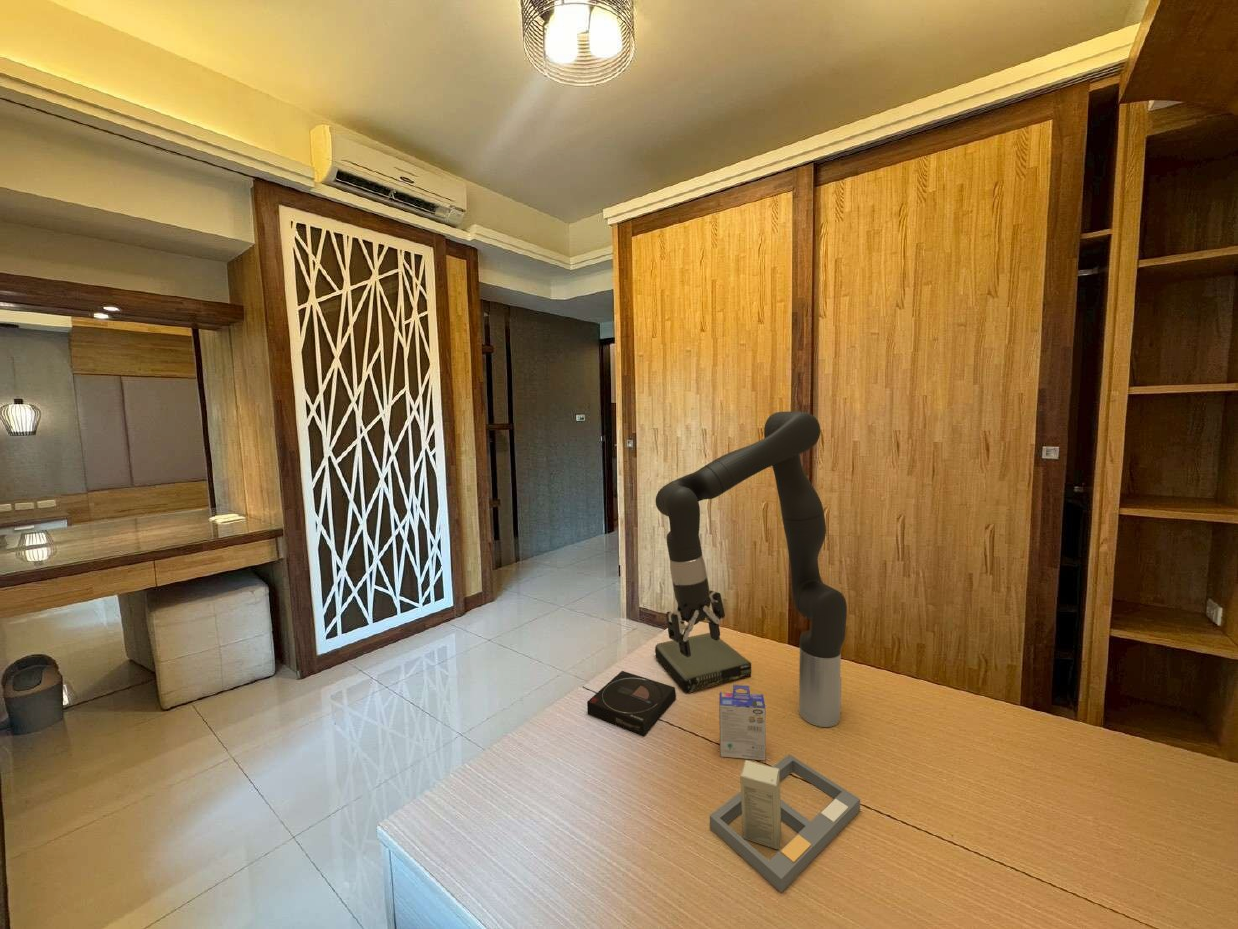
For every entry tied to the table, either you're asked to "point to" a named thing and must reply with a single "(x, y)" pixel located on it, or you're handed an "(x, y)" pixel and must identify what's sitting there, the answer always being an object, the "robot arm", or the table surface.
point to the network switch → (702, 662)
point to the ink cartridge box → (742, 724)
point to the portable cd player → (631, 702)
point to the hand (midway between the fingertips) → (701, 647)
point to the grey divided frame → (809, 835)
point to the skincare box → (761, 804)
